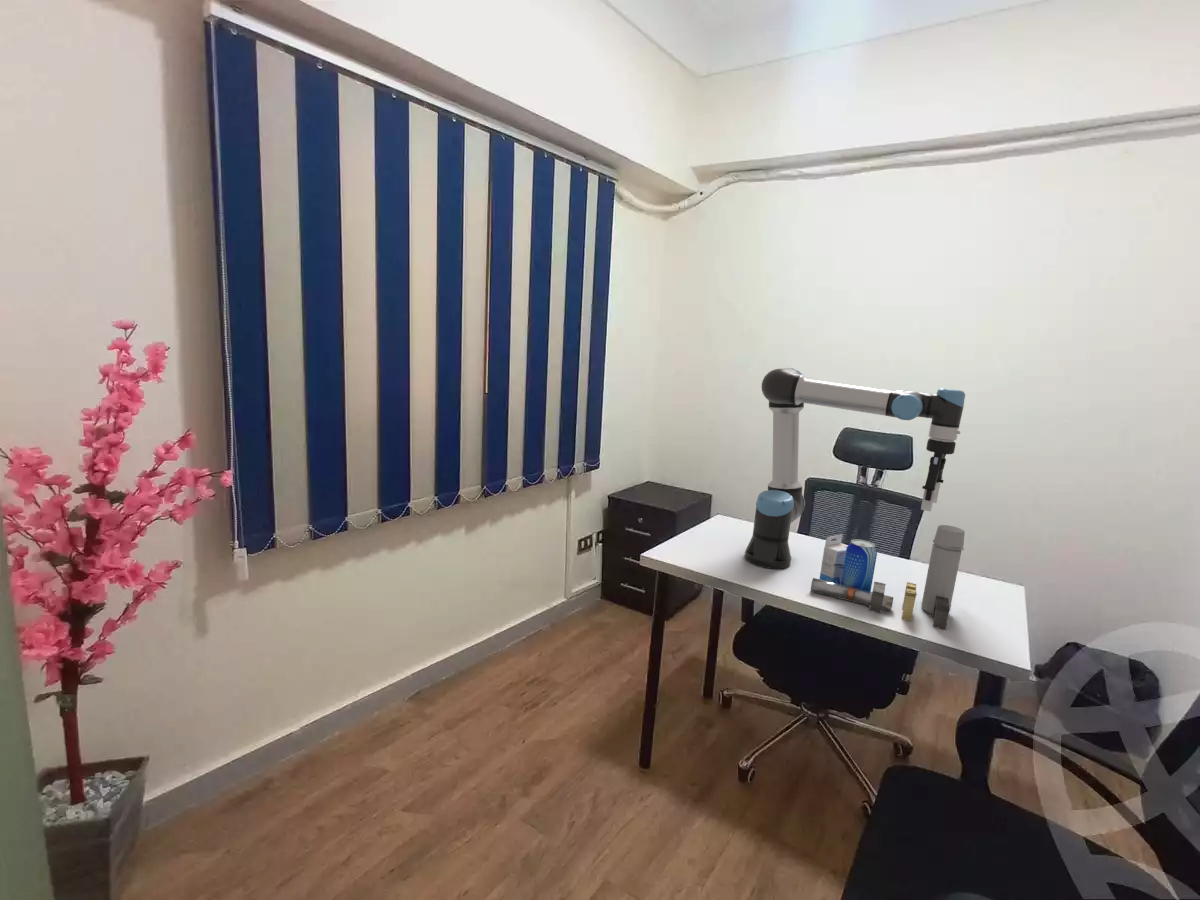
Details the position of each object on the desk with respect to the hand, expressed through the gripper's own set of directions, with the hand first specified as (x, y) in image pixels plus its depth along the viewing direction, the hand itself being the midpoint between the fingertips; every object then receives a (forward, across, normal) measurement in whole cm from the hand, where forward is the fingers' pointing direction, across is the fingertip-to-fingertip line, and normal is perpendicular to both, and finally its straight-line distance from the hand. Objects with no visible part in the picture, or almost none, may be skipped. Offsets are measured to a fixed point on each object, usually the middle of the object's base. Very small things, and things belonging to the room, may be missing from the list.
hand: (928, 506), depth 187 cm
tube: (+26, -29, +13) cm, 41 cm away
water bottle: (+26, -18, -9) cm, 33 cm away
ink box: (+27, -18, +20) cm, 38 cm away
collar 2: (+26, -26, -10) cm, 38 cm away
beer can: (+26, -22, +13) cm, 37 cm away
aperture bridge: (+26, -27, -2) cm, 38 cm away
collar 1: (+26, -28, +6) cm, 39 cm away
